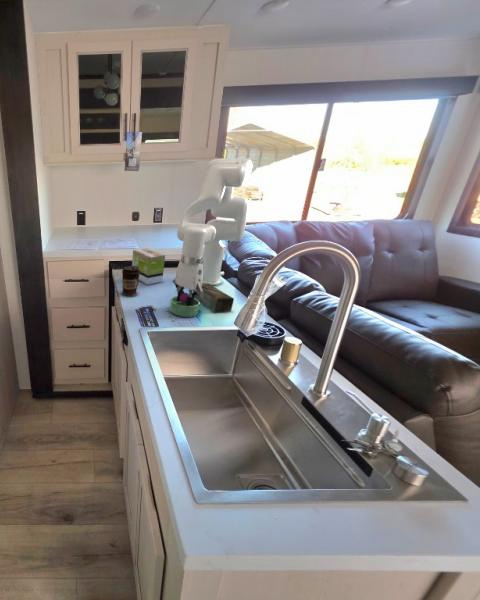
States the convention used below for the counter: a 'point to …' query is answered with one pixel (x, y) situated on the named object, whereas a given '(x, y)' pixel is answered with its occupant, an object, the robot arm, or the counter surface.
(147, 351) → the counter surface
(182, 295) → the ball
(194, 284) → the robot arm
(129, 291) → the coffee cup
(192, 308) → the bowl
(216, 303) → the brown wooden block
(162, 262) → the tea box
